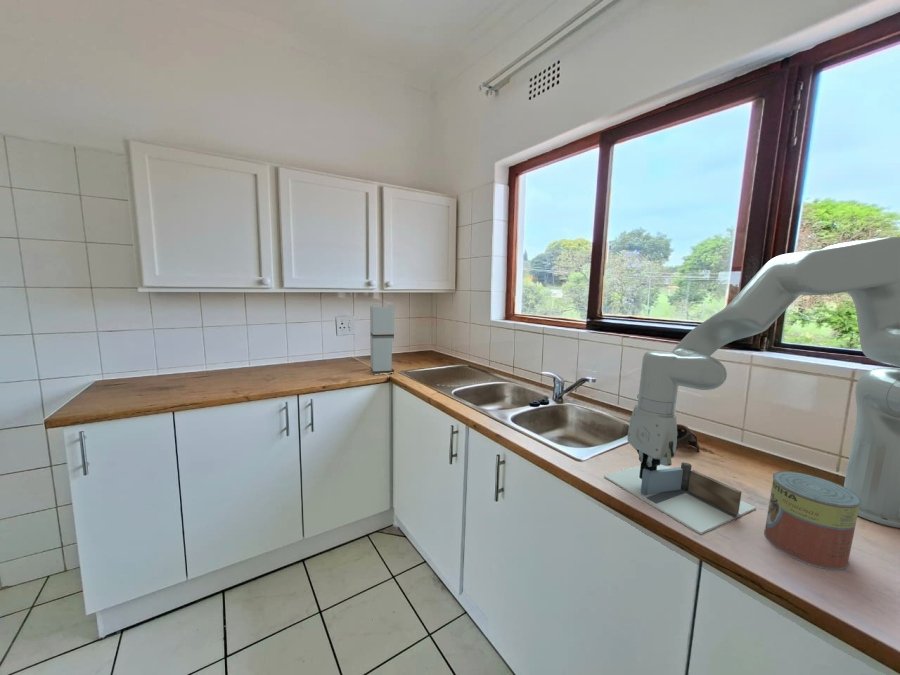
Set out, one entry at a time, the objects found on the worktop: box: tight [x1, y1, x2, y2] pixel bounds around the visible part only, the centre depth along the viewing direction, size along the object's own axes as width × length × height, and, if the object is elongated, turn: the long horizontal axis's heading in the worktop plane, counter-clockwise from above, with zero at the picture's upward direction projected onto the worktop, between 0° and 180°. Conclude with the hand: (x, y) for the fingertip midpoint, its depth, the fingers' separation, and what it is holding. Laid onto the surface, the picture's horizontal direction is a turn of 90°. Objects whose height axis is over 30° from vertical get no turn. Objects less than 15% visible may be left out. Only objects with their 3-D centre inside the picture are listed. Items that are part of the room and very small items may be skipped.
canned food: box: [763, 470, 861, 571], centre depth 66 cm, size 11×11×12 cm
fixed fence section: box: [680, 461, 743, 515], centre depth 80 cm, size 12×2×7 cm, turn 26°
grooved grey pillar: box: [369, 305, 395, 375], centre depth 190 cm, size 11×11×35 cm
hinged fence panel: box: [641, 466, 683, 495], centre depth 83 cm, size 10×1×6 cm, turn 104°
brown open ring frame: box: [676, 423, 700, 452], centre depth 109 cm, size 12×9×8 cm
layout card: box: [603, 464, 757, 535], centre depth 84 cm, size 23×20×1 cm
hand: (647, 479), depth 85 cm, fingers closed
